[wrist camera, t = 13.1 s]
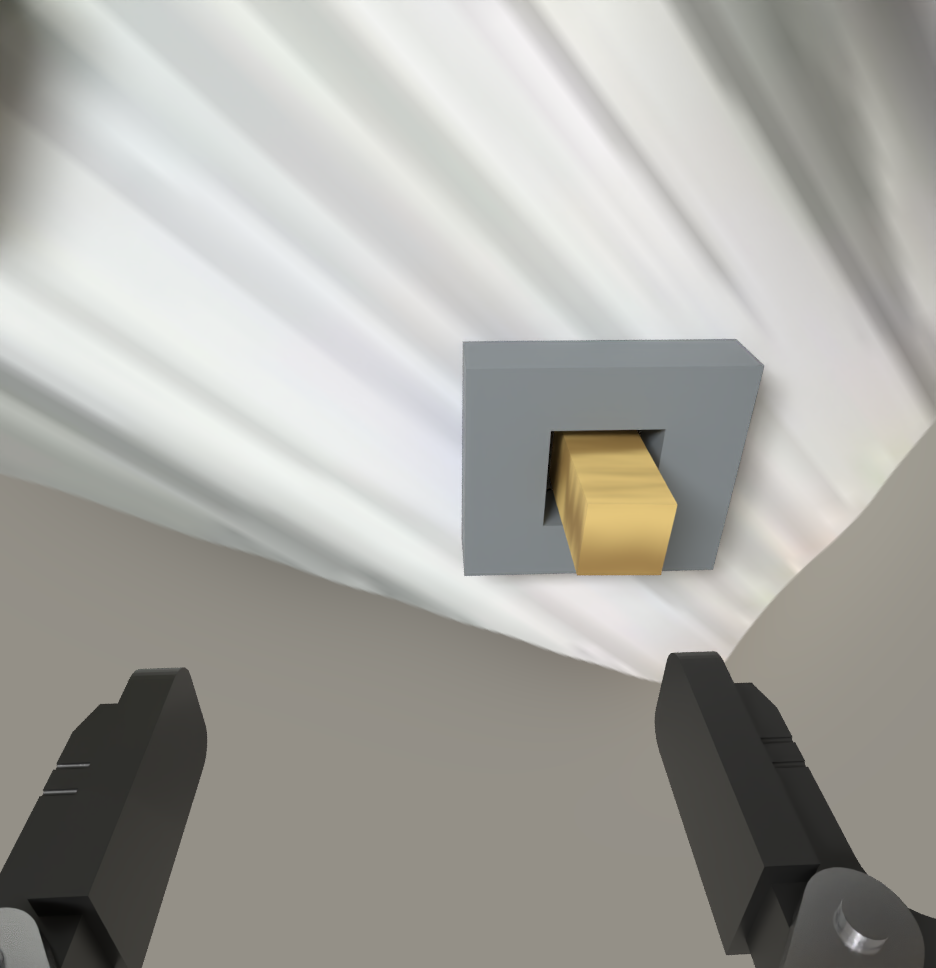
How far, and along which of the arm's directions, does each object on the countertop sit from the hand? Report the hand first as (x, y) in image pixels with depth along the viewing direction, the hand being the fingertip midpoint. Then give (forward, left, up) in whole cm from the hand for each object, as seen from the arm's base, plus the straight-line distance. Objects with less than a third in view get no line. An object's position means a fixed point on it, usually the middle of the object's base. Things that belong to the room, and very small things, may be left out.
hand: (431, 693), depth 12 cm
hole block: (+12, +10, -30) cm, 34 cm away
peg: (+12, +10, -30) cm, 34 cm away
